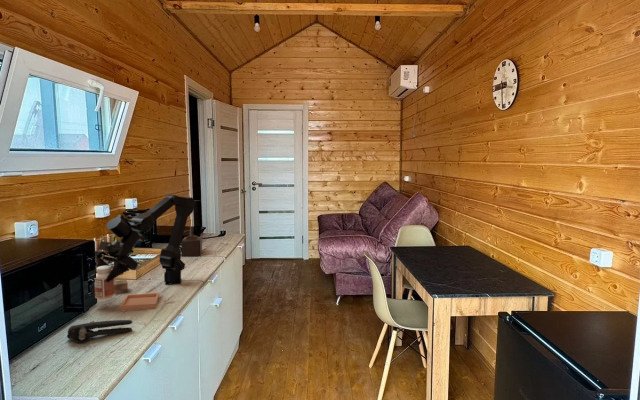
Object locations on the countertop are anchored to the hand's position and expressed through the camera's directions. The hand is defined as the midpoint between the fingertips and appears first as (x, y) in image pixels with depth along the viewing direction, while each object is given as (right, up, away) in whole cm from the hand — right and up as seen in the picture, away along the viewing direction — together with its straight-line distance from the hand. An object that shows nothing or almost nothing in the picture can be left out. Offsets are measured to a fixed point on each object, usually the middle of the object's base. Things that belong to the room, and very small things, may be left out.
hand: (100, 279), depth 138 cm
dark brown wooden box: (+3, -3, +82) cm, 82 cm away
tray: (+11, -10, +7) cm, 17 cm away
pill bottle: (0, -7, +2) cm, 7 cm away
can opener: (+12, -14, -20) cm, 27 cm away
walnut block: (-3, -9, +19) cm, 21 cm away
